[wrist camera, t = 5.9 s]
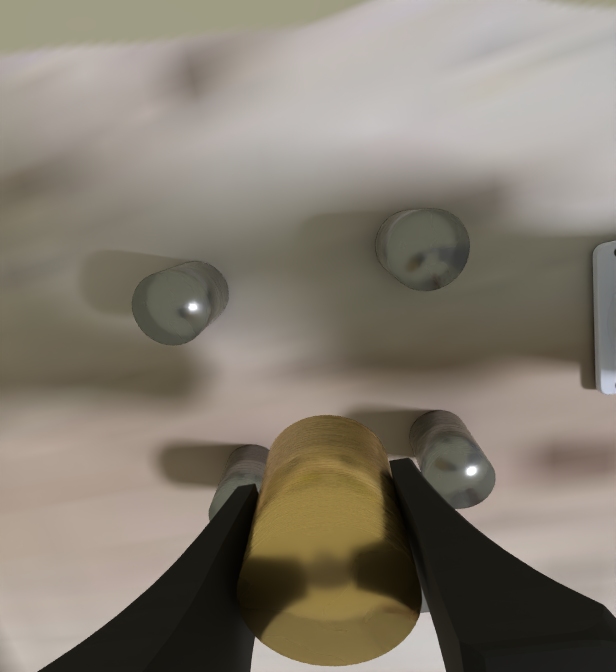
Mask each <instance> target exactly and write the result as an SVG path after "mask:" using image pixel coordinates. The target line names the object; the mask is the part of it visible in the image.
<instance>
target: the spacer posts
mask: <svg viewBox="0 0 616 672" xmlns="http://www.w3.org/2000/svg"><path fill="white" fill-rule="evenodd" d="M375 248H376V254H377V257H378V259H379V261H380V263H381V264H382V266H383V267H384V268H385V269H386V270H387V271H389V272H390V273H391V274H392V275H393V276H394V277H395V278H397V279H398V280H399V281H400V282H401V283H403V284H404V285H406V286H407V287H409V288H412V289H415V290H421V291H430V290H435V289H439V288H441V287H444V286H446V285H447V284H449V283H450V282H452V281H453V280H454V279H455V278H456V277H457V276H458V275H459V274H460V273H461V271H462V270H463V268H464V266H465V264H466V262H467V259H468V255H469V248H470V244H469V237H468V234H467V231H466V229H465V227H464V225H463V224H462V222H461V221H460V220H459V219H458V218H457V217H455V216H454V215H453V214H451V213H449V212H447V211H444V210H440V209H417V210H405V211H401V212H398V213H396V214H394V215H392V216H391V217H389V218H388V219H387V220H386V221H385V222H384V223H383V225H382V226H381V227H380V229H379V231H378V234H377V237H376V243H375ZM227 302H228V287H227V283H226V281H225V279H224V277H223V276H222V274H221V273H220V272H219V271H218V270H217V269H216V268H214V267H213V266H211V265H209V264H207V263H204V262H199V261H192V262H187V263H184V264H181V265H178V266H175V267H172V268H169V269H167V270H164V271H161V272H158V273H155V274H152V275H150V276H148V277H146V278H145V279H143V280H142V281H141V282H140V283H139V285H138V286H137V288H136V289H135V292H134V294H133V299H132V310H133V315H134V318H135V320H136V322H137V324H138V326H139V327H140V328H141V330H142V331H143V332H144V333H145V334H146V335H147V336H149V337H150V338H151V339H153V340H155V341H157V342H159V343H162V344H166V345H181V344H184V343H187V342H189V341H191V340H193V339H194V338H195V337H196V336H197V335H199V334H200V333H201V332H202V331H203V330H204V329H205V328H206V327H207V326H208V325H209V324H210V323H211V322H212V321H213V320H214V319H216V318H217V317H218V316H219V315H220V314H221V313H222V312H223V310H224V309H225V307H226V305H227ZM409 438H410V443H411V446H412V449H413V451H414V454H415V457H416V459H417V462H418V465H419V467H420V470H421V473H422V475H423V476H424V477H425V478H426V480H427V481H428V482H429V483H430V484H431V485H432V487H433V488H434V489H435V490H436V491H437V492H438V493H439V494H440V495H441V496H442V497H443V498H444V499H445V500H446V501H447V502H448V503H449V504H450V505H451V506H452V507H453V508H455V509H462V508H468V507H472V506H474V505H477V504H479V503H480V502H482V501H483V500H484V499H486V498H487V497H488V495H489V494H490V493H491V491H492V490H493V487H494V485H495V471H494V469H493V467H492V465H491V463H490V462H489V460H488V459H487V457H486V456H485V454H484V453H483V451H482V450H481V448H480V447H479V445H478V444H477V442H476V441H475V439H474V438H473V436H472V435H471V433H470V432H469V430H468V429H467V427H466V426H465V425H464V423H463V422H462V420H461V419H460V418H459V417H458V416H456V415H455V414H453V413H451V412H447V411H432V412H429V413H426V414H424V415H422V416H421V417H420V418H418V419H417V420H416V421H415V423H414V424H413V426H412V428H411V430H410V436H409ZM269 451H270V450H268V449H266V448H264V447H262V446H258V445H246V446H243V447H240V448H238V449H237V450H235V451H234V452H233V453H232V454H231V456H230V458H229V460H228V462H227V465H226V467H225V470H224V472H223V475H222V478H221V480H220V483H219V485H218V488H217V490H216V493H215V495H214V498H213V500H212V503H211V505H210V508H209V520H210V521H211V520H212V519H213V517H214V516H215V515H216V514H217V512H218V511H219V510H220V508H221V507H222V506H223V505H224V503H225V502H226V501H227V499H228V498H229V497H230V495H231V494H232V493H233V492H234V490H235V489H236V488H237V487H238V486H242V485H248V484H254V483H255V484H256V487H257V490H258V493H259V491H260V487H261V482H262V478H263V474H264V470H265V466H266V461H267V457H268V453H269Z"/></svg>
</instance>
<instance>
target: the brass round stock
mask: <svg viewBox="0 0 616 672" xmlns="http://www.w3.org/2000/svg"><path fill="white" fill-rule="evenodd" d="M236 595H237V604H238V607H239V611H240V614H241V616H242V618H243V620H244V622H245V624H246V625H247V627H248V628H249V630H250V631H251V632H252V633H253V634H254V635H255V637H257V638H258V639H259V640H260V641H261V642H262V643H263V644H265V645H266V646H268V647H269V648H270V649H272V650H274V651H275V652H277V653H279V654H281V655H283V656H285V657H288V658H290V659H293V660H296V661H299V662H303V663H308V664H312V665H320V666H346V665H352V664H358V663H362V662H366V661H369V660H372V659H374V658H377V657H379V656H381V655H383V654H385V653H387V652H389V651H390V650H392V649H393V648H395V647H396V646H397V645H399V644H400V643H401V642H402V641H403V640H404V639H405V638H406V637H407V636H408V635H409V634H410V632H411V631H412V629H413V628H414V626H415V625H416V622H417V620H418V618H419V615H420V611H421V608H422V589H421V585H420V581H419V577H418V573H417V569H416V566H415V562H414V558H413V554H412V550H411V546H410V542H409V539H408V535H407V531H406V527H405V523H404V519H403V516H402V512H401V508H400V504H399V501H398V498H397V494H396V490H395V486H394V482H393V478H392V473H391V469H390V465H389V461H388V458H387V454H386V451H385V449H384V447H383V445H382V443H381V442H380V440H379V439H378V438H377V437H376V436H375V434H374V433H372V432H371V431H370V430H369V429H368V428H366V427H365V426H363V425H362V424H360V423H358V422H356V421H354V420H351V419H348V418H345V417H341V416H334V415H320V416H313V417H309V418H305V419H302V420H300V421H298V422H296V423H294V424H292V425H290V426H289V427H287V428H286V429H285V430H284V431H283V432H282V433H280V434H279V436H278V437H277V438H276V439H275V441H274V442H273V444H272V446H271V448H270V451H269V453H268V457H267V461H266V466H265V470H264V474H263V478H262V482H261V487H260V491H259V495H258V499H257V503H256V508H255V512H254V516H253V520H252V525H251V529H250V533H249V537H248V541H247V546H246V550H245V554H244V558H243V562H242V567H241V571H240V575H239V579H238V583H237V594H236Z"/></svg>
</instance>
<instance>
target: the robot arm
mask: <svg viewBox="0 0 616 672" xmlns="http://www.w3.org/2000/svg"><path fill="white" fill-rule="evenodd" d="M615 249H616V240H615V241H610V242H605V243H602V244H600V245H598V246H597V247H596V248H595V250H594V251H593V290H594V332H595V375H596V388H597V390H598V391H600V392H601V393H603V394H605V395H610V394H616V386H615V384H616V256H615V255H614V250H615ZM389 463H390V468H391V473H392V478H393V482H394V486H395V490H396V494H397V498H398V501H399V504H400V508H401V512H402V516H403V519H404V523H405V527H406V531H407V535H408V539H409V542H410V546H411V550H412V554H413V558H414V562H415V566H416V569H417V573H418V577H419V581H420V585H421V588H422V591H423V594H424V597H425V599H426V602H427V605H428V608H429V611H430V614H431V617H432V620H433V624H434V627H435V630H436V633H437V637H438V641H439V645H440V649H441V653H442V657H443V661H444V664H445V668H446V672H616V618H615V617H614V615H613V614H612V613H611V612H610V611H609V610H608V609H607V608H606V607H605V606H604V605H603V604H601V603H599V602H597V601H595V600H592V599H590V598H588V597H586V596H584V595H582V594H580V593H578V592H576V591H574V590H572V589H570V588H568V587H566V586H564V585H562V584H560V583H558V582H556V581H554V580H552V579H551V578H549V577H547V576H545V575H544V574H542V573H540V572H538V571H537V570H535V569H533V568H532V567H530V566H529V565H527V564H526V563H524V562H522V561H521V560H519V559H518V558H516V557H515V556H513V555H512V554H510V553H508V552H507V551H505V550H504V549H503V548H501V547H500V546H499V545H497V544H496V543H494V542H493V541H492V540H490V539H489V538H488V537H486V536H485V535H484V534H483V533H481V532H480V531H479V530H478V529H476V528H475V527H474V526H473V525H472V524H470V523H469V522H468V521H467V520H466V519H465V518H464V517H463V516H461V515H460V514H459V513H458V512H457V511H456V510H455V509H454V508H453V507H452V506H451V505H450V504H449V503H448V502H447V501H446V500H445V499H444V498H443V497H442V496H441V495H440V494H439V493H438V492H437V491H436V490H435V489H434V488H433V487H432V485H431V484H430V483H429V482H428V481H427V480H426V478H425V477H424V476H423V475H422V474H421V472H420V471H419V470H418V468H417V467H416V466H415V464H414V463H413V461H412V460H411V459H409V458H404V459H398V460H392V461H389ZM258 495H259V493H258V490H257V487H256V484H255V483H254V484H248V485H242V486H238V487H237V488H236V489H235V490H234V492H233V493H232V494H231V495H230V497H229V498H228V499H227V501H226V502H225V503H224V505H223V506H222V507H221V508H220V510H219V511H218V512H217V514H216V515H215V516H214V517H213V519H212V520H211V521H210V522H209V524H208V525H207V526H206V527H205V529H204V530H203V531H202V532H201V534H200V535H199V536H198V537H197V538H196V539H195V540H194V542H193V543H192V544H191V545H190V546H189V547H188V548H187V550H186V551H185V552H184V553H183V554H182V555H181V557H180V558H179V559H178V560H177V561H176V562H175V563H174V564H173V565H172V566H171V567H170V568H169V569H168V570H167V571H166V572H165V573H164V574H163V575H162V576H161V577H160V578H159V579H158V580H157V581H156V582H155V583H154V584H153V585H152V586H151V587H150V588H148V589H147V590H146V591H145V592H144V593H143V594H142V595H140V596H139V597H138V598H137V599H136V600H135V601H133V602H132V603H131V604H130V605H129V606H128V607H127V608H125V609H124V610H123V611H122V612H121V613H119V614H118V615H117V616H116V617H114V618H113V619H112V620H111V621H109V622H108V623H107V624H106V625H104V626H103V627H102V628H100V629H99V630H98V631H96V632H95V633H94V634H92V635H91V636H90V637H88V638H87V639H85V640H84V641H83V642H81V643H80V644H78V645H77V646H76V647H74V648H73V649H71V650H70V651H68V652H67V653H65V654H64V655H62V656H61V657H59V658H58V659H56V660H55V661H53V662H52V663H50V664H49V665H47V666H46V667H44V668H42V669H41V670H39V671H38V672H250V670H251V660H252V652H253V646H254V639H255V635H254V634H253V633H252V632H251V631H250V630H249V628H248V627H247V625H246V624H245V622H244V620H243V618H242V616H241V614H240V611H239V607H238V604H237V595H236V594H237V583H238V579H239V575H240V571H241V567H242V562H243V558H244V554H245V550H246V546H247V541H248V537H249V533H250V529H251V525H252V520H253V516H254V512H255V508H256V503H257V499H258Z"/></svg>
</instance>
